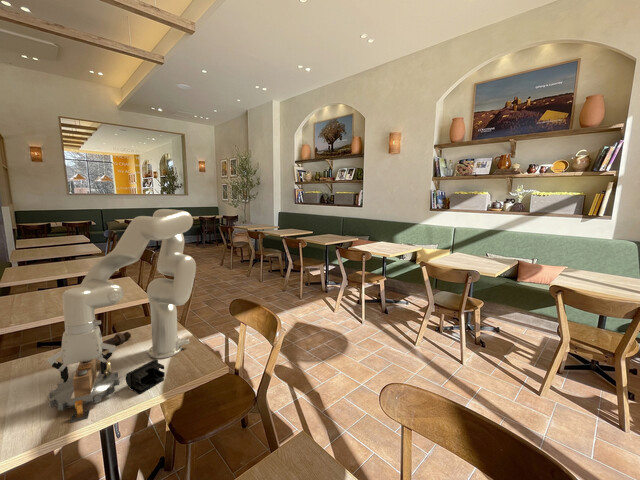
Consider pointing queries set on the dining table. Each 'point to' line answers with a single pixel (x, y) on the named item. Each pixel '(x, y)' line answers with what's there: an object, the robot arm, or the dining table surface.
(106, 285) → the robot arm
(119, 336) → the bolt
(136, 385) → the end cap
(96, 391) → the sprocket
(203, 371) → the dining table surface
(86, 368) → the tan block with disc
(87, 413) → the sprocket stand
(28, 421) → the dining table surface
